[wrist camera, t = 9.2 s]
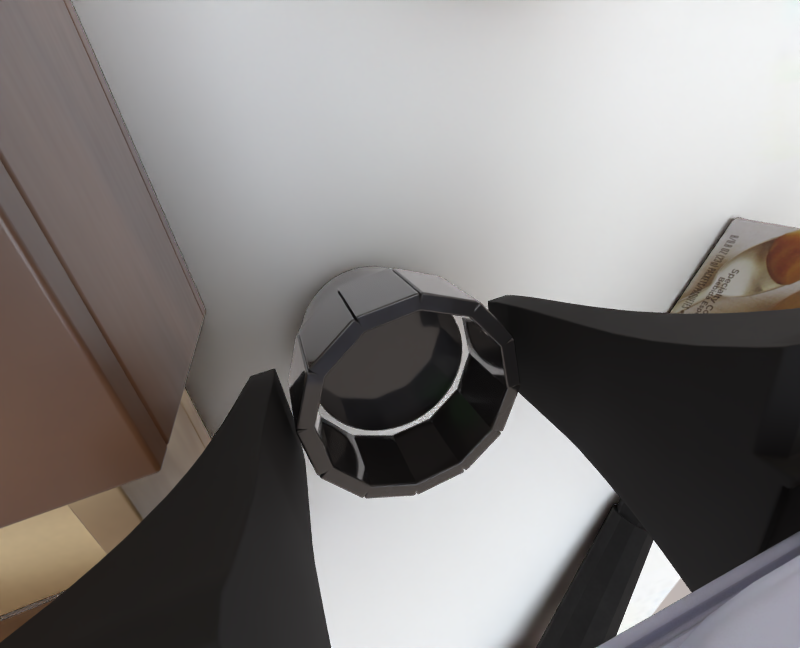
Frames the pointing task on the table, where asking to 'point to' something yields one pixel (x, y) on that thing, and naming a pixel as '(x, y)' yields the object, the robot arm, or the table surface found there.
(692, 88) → the table surface
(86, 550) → the drawer
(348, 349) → the dark grey hollow cylinder
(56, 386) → the cabinet
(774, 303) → the coffee box
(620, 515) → the microphone
